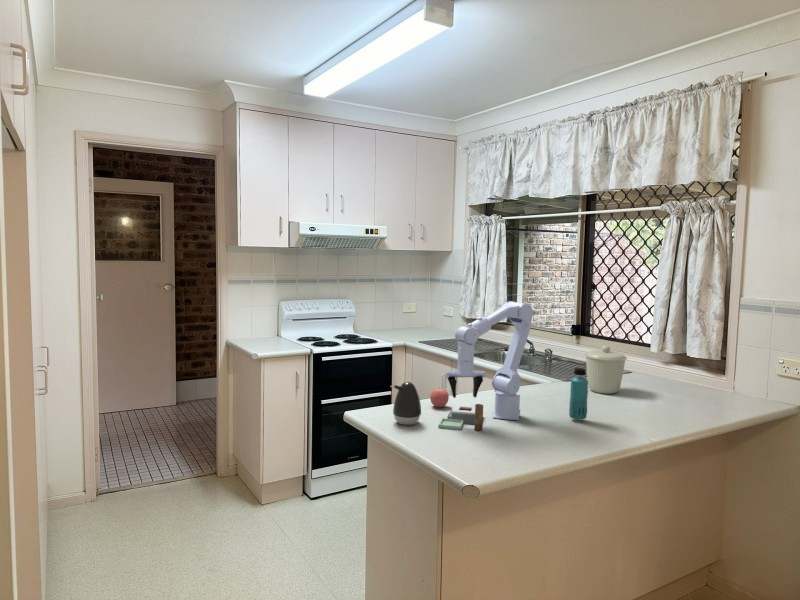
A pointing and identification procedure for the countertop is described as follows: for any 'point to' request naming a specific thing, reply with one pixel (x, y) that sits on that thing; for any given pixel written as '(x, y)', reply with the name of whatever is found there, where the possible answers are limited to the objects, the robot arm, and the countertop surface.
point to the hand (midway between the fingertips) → (464, 396)
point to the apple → (439, 397)
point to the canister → (604, 370)
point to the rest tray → (451, 424)
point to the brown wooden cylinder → (478, 417)
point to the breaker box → (463, 413)
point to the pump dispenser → (407, 404)
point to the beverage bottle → (578, 395)
